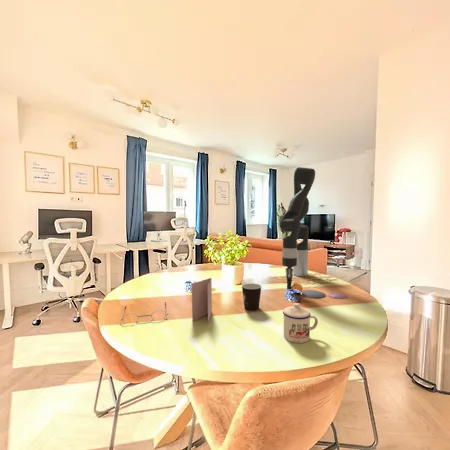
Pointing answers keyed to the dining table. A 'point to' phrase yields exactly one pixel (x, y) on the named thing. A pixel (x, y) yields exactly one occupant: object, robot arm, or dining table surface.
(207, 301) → the greeting card
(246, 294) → the coffee mug
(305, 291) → the disc
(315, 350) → the dining table surface
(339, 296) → the disc
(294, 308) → the teacup with lid
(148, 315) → the eyeglasses
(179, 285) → the dining table surface
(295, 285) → the ball
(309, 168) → the robot arm
